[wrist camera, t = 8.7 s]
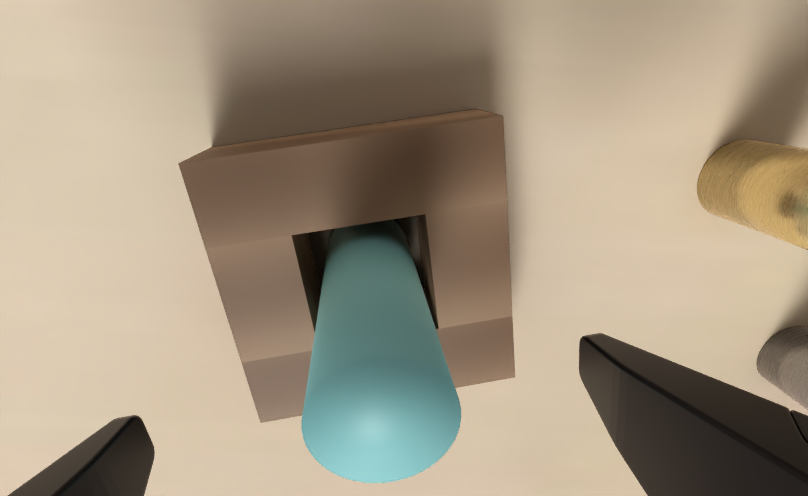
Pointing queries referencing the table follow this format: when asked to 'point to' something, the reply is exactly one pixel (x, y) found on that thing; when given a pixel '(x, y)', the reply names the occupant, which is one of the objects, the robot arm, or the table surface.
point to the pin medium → (759, 188)
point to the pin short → (787, 362)
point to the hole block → (347, 206)
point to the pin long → (376, 363)
